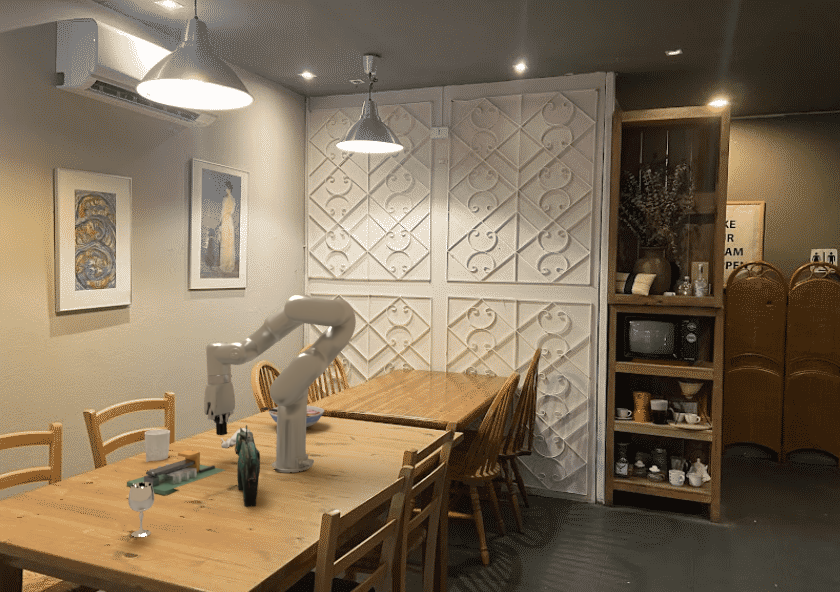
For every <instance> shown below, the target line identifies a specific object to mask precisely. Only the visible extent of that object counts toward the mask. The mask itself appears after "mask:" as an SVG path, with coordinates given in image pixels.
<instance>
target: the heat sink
mask: <svg viewBox="0 0 840 592" xmlns="http://www.w3.org/2000/svg"><path fill="white" fill-rule="evenodd" d="M169 464H170V463H166V464H165V466H166V465H169ZM159 467H163V466H161V465H159V466H157V468H159ZM153 469H154V468H150V469H149V471H150V470H153ZM143 477H144V482H150V483H152V486H153V487H154V486H157V485H159V481H161V482H166V483H170V484H175V483H177V484H180V483H181V481H189V479H190V478H194V479H195V478H197V469H196V468H192V467H184V468H181V469H178V470H174V471H171V472H168V473H165V474H162V475H159V476H156V477H155V476H151V475H146V474H145V475H144V476H143Z"/></svg>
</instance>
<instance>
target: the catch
mask: <svg viewBox="0 0 840 592" xmlns="http://www.w3.org/2000/svg"><path fill="white" fill-rule="evenodd" d="M177 456H179V457H183V458H185V459H184V460H186V459H189V460H194V461H195V464H193V465H190V466H187V467H192V468H196V469H197V472H199V470H200V465H201V463H200V462H201V460H200V459H201V452H200V451H196V450H195V451H194V450H191V449H190V450H189V449H187V450H184V451H180V452H177Z"/></svg>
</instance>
